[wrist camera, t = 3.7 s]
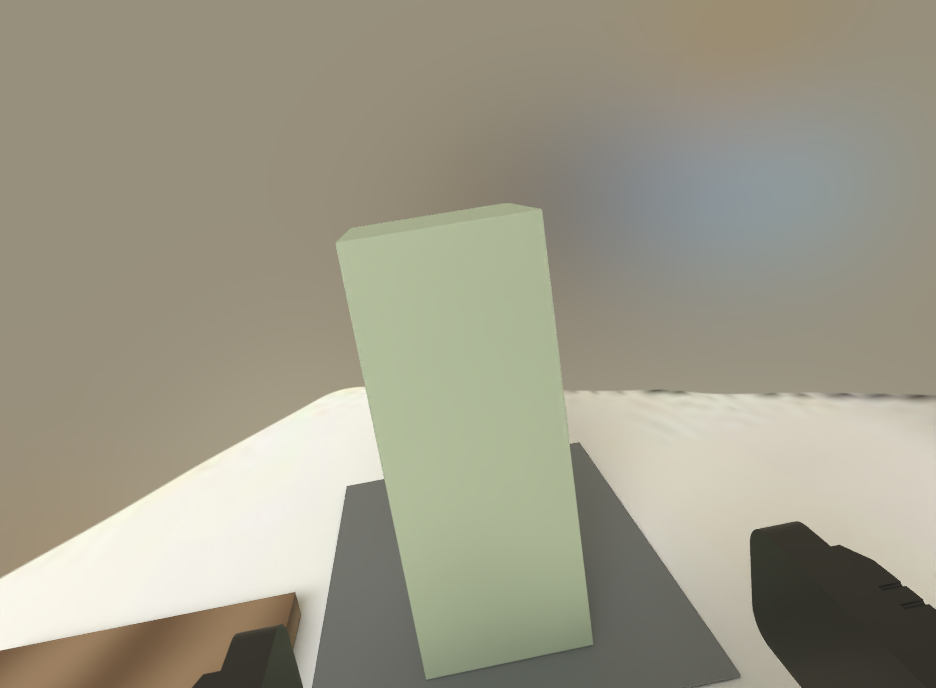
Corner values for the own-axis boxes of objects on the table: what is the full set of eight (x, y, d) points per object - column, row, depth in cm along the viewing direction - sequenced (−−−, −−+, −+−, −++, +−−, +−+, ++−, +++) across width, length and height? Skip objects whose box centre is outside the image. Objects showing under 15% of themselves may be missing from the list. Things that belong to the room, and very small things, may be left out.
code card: (579, 444, 35) (579, 441, 35) (740, 677, 18) (740, 673, 18) (347, 487, 34) (346, 485, 34) (298, 773, 17) (297, 768, 17)
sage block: (553, 548, 26) (507, 203, 22) (593, 644, 20) (541, 209, 17) (420, 575, 25) (351, 228, 21) (425, 680, 20) (335, 242, 16)
